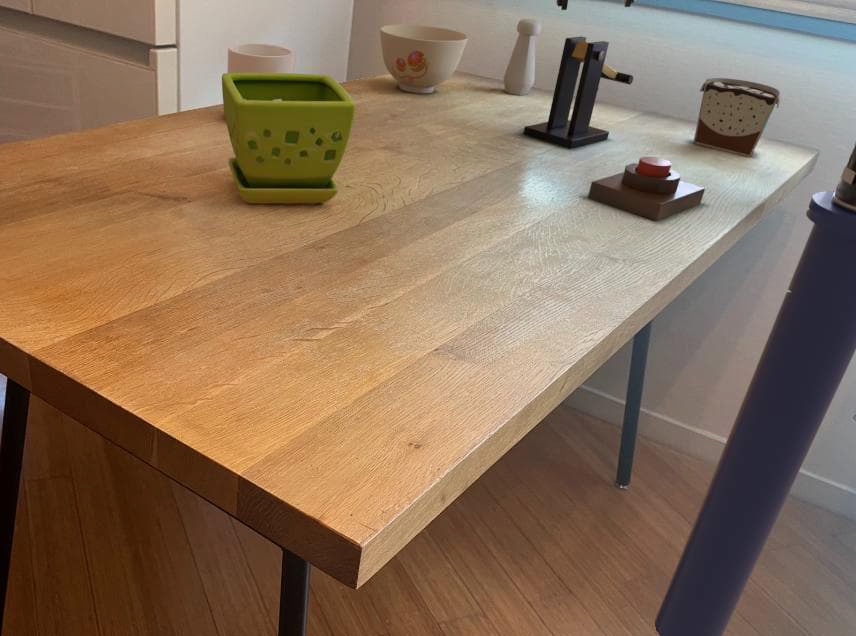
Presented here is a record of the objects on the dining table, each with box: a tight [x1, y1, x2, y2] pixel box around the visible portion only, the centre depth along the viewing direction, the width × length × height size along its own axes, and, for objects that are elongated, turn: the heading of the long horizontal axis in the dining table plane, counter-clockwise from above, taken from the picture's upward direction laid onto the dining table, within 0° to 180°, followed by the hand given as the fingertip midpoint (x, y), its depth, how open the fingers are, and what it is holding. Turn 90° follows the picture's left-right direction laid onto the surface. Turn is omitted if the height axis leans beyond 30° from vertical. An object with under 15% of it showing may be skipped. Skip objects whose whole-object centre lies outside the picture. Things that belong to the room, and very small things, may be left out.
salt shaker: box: [503, 18, 542, 96], centre depth 163 cm, size 6×6×13 cm
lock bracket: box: [522, 35, 610, 150], centre depth 137 cm, size 11×9×15 cm
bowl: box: [379, 24, 469, 94], centre depth 159 cm, size 16×16×10 cm
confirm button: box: [637, 156, 673, 177], centre depth 113 cm, size 4×4×2 cm
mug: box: [227, 43, 297, 101], centre depth 134 cm, size 13×10×10 cm
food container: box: [693, 77, 782, 158], centre depth 140 cm, size 12×6×10 cm, turn 48°
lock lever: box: [572, 41, 634, 85], centre depth 138 cm, size 14×6×2 cm, turn 132°
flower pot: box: [221, 72, 356, 206], centre depth 104 cm, size 14×14×13 cm
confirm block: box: [587, 163, 706, 222], centre depth 114 cm, size 12×10×4 cm
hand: (596, 4), depth 120 cm, fingers open, 8 cm apart
